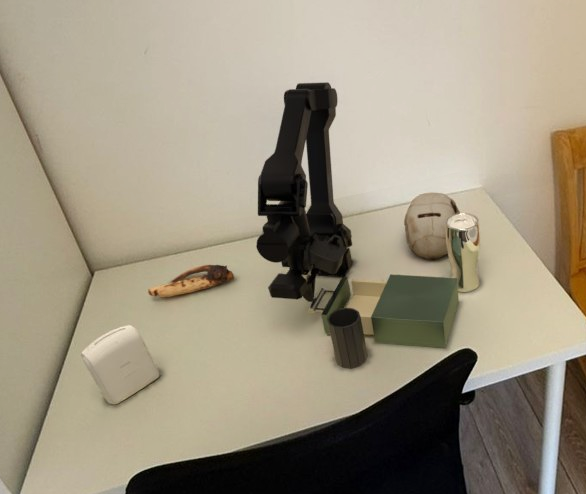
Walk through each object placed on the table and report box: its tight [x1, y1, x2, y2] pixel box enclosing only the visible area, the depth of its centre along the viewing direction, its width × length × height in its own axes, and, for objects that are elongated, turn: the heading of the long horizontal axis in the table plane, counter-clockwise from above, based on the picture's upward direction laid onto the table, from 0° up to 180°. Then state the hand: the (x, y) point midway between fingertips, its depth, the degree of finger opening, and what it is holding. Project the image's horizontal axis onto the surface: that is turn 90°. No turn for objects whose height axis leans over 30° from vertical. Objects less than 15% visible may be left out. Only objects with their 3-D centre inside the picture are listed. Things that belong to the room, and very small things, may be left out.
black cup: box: [327, 307, 369, 370], centre depth 115 cm, size 6×6×10 cm
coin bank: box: [403, 192, 461, 260], centre depth 143 cm, size 16×17×13 cm
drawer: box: [307, 276, 388, 336], centre depth 125 cm, size 17×13×5 cm
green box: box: [371, 274, 460, 349], centre depth 122 cm, size 14×14×6 cm
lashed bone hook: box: [148, 264, 235, 298], centre depth 139 cm, size 9×5×18 cm
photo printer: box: [80, 324, 161, 405], centre depth 112 cm, size 10×4×12 cm, turn 140°
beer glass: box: [445, 212, 481, 293], centre depth 129 cm, size 7×7×15 cm
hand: (310, 301), depth 127 cm, fingers closed
